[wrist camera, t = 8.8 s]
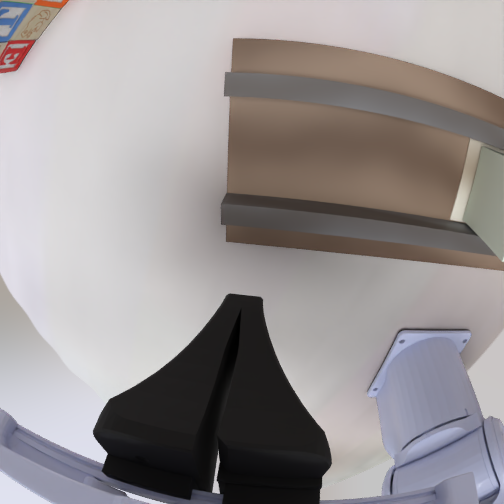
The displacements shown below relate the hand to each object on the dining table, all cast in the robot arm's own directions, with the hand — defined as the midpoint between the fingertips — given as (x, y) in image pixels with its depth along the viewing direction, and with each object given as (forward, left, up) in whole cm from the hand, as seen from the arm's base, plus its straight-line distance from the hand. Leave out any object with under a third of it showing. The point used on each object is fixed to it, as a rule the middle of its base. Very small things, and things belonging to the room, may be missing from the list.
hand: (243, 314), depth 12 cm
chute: (+5, -9, -8) cm, 13 cm away
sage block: (+5, -15, -7) cm, 18 cm away
